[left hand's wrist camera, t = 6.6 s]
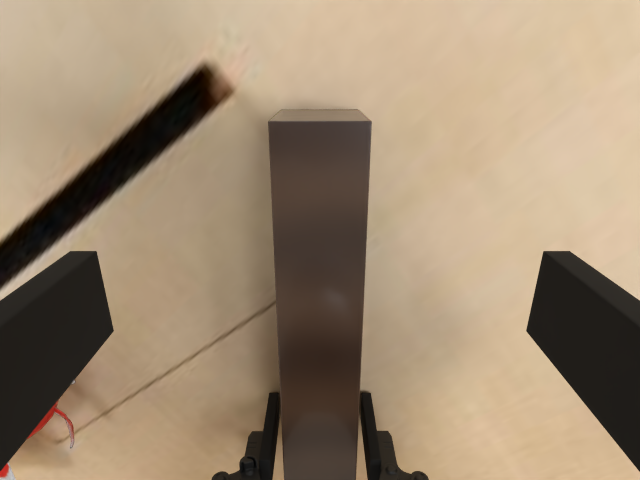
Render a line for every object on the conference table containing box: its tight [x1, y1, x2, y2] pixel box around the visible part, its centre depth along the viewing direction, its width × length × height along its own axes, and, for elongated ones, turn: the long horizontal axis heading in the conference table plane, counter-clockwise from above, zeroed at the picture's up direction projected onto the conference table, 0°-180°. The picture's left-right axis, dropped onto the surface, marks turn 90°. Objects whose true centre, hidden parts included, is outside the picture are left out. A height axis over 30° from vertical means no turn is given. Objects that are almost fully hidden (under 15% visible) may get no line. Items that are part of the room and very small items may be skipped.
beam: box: [268, 110, 372, 480], centre depth 28 cm, size 28×5×7 cm, turn 0°
